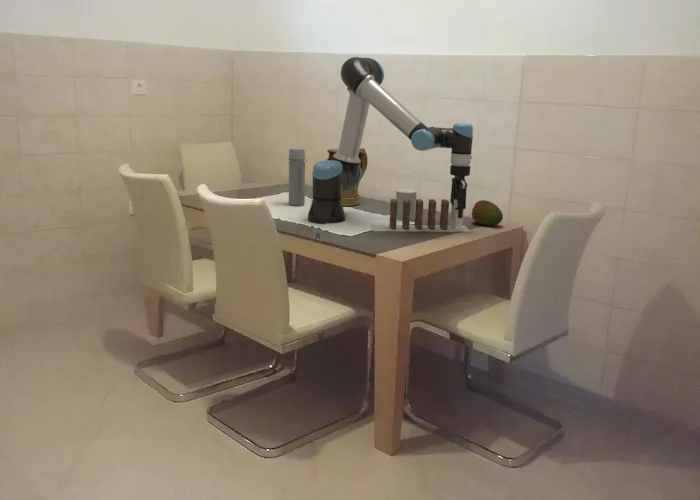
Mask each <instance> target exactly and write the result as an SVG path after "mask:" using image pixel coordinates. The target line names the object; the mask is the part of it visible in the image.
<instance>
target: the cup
mask: <svg viewBox="0 0 700 500" xmlns="http://www.w3.org/2000/svg"><path fill="white" fill-rule="evenodd" d="M417 192H418V191H417V190H414V189H403V188H402V189H397V190H396V194H395V195H396V197H395V199H396V200H397V221H402V219H403V199H409V200H410V220H409V222H412V221H415V213H416V199H417Z"/></svg>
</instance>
